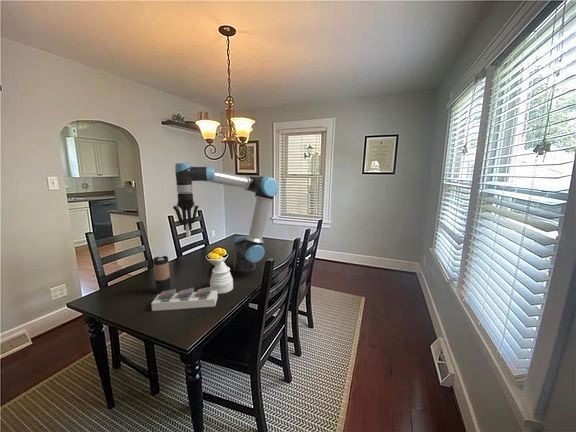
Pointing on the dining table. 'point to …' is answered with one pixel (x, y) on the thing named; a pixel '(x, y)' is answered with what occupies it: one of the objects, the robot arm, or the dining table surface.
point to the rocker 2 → (203, 291)
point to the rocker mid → (185, 292)
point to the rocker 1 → (167, 294)
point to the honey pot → (221, 278)
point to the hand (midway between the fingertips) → (188, 235)
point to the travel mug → (161, 274)
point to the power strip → (185, 302)
